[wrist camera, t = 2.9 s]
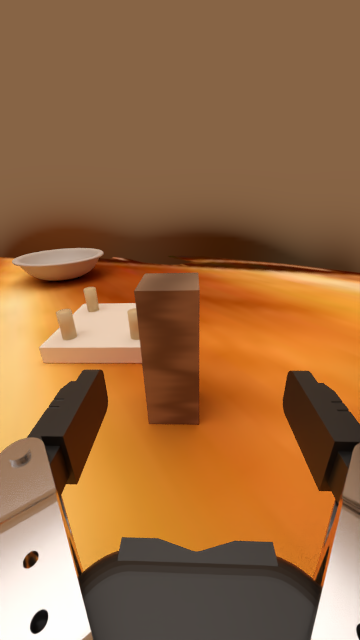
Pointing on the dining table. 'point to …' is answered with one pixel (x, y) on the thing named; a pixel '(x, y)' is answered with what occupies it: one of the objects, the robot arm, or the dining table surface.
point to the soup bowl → (59, 263)
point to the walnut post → (170, 346)
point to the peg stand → (95, 334)
